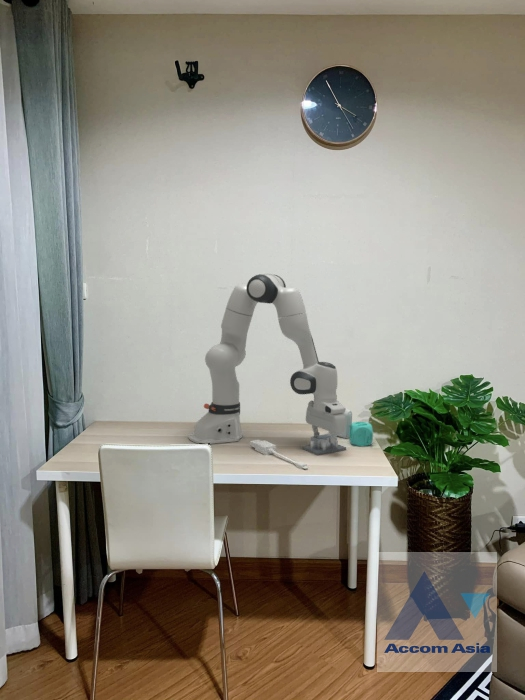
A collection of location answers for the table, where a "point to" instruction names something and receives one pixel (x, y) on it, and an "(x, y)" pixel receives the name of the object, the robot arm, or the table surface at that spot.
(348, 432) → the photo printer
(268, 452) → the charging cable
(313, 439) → the block
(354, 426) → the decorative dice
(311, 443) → the peg board
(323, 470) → the table surface
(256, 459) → the table surface
